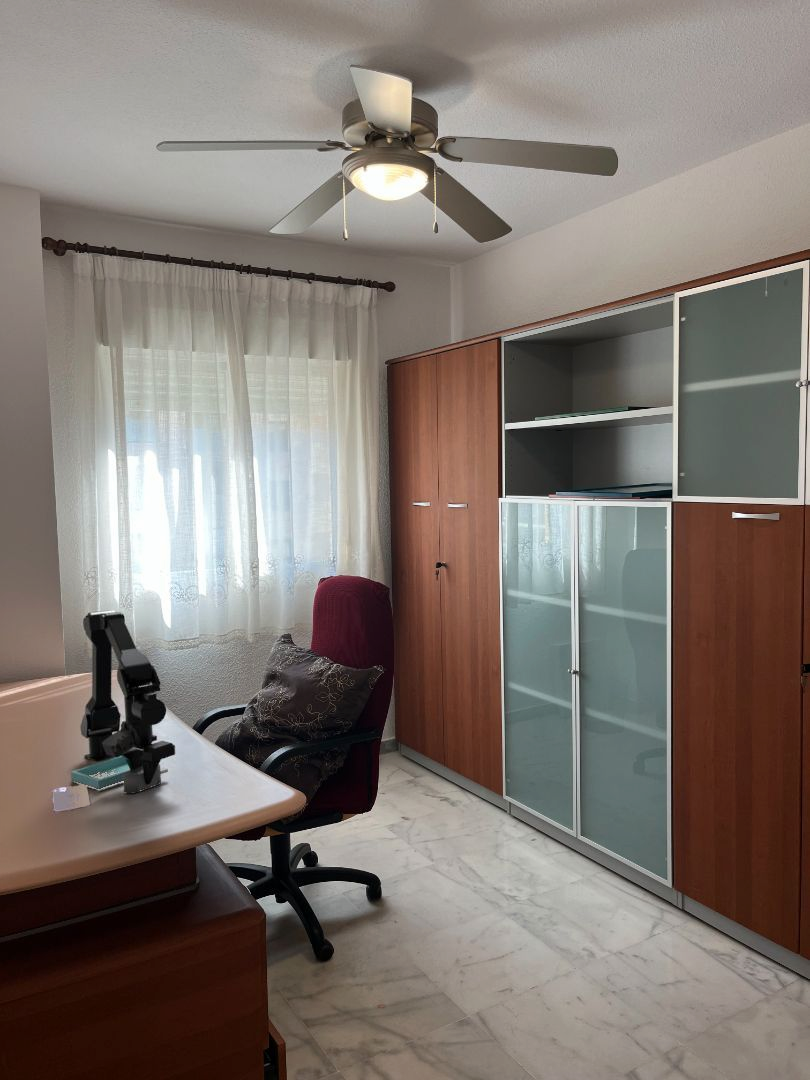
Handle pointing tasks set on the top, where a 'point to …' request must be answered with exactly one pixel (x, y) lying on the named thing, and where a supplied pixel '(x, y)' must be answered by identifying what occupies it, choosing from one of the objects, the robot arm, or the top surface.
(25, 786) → the top surface
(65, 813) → the top surface
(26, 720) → the top surface
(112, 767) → the desk tray
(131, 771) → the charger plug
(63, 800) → the mobile phone
